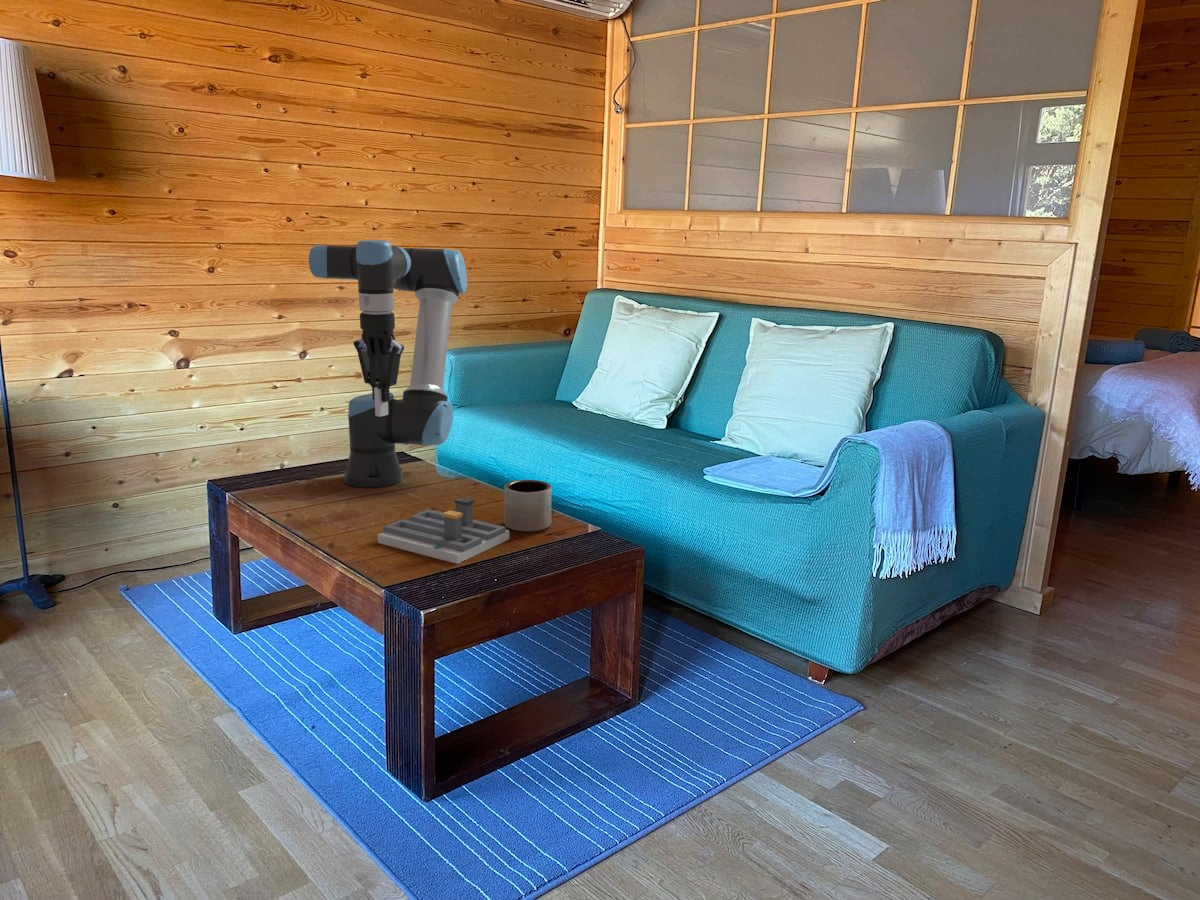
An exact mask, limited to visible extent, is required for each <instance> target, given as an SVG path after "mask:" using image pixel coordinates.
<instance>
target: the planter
mask: <svg viewBox="0 0 1200 900" xmlns="http://www.w3.org/2000/svg"><path fill="white" fill-rule="evenodd" d="M503 514H504V517H503V518H504V519H503V522H504V525H505V526H504V527H506V528H508V529H509V530H511V531H515V532H519V533H536V532H541V531H545V530H546V529H548V528H549V527H550V526H551V525H552V485H551V484H550V483H548V482H547V481H543V480H538V479H519V480H512V481H510V482H508V483H506V484H505V485H504V513H503Z"/></svg>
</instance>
